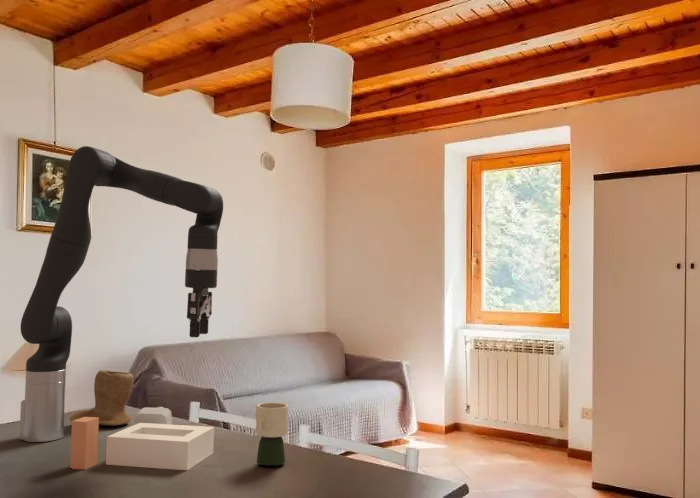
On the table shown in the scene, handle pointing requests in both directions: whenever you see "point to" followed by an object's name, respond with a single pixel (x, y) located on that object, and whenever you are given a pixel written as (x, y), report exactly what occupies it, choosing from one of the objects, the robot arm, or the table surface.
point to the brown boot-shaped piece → (109, 398)
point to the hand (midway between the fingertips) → (198, 335)
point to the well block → (160, 446)
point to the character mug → (271, 432)
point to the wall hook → (154, 416)
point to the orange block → (84, 442)
